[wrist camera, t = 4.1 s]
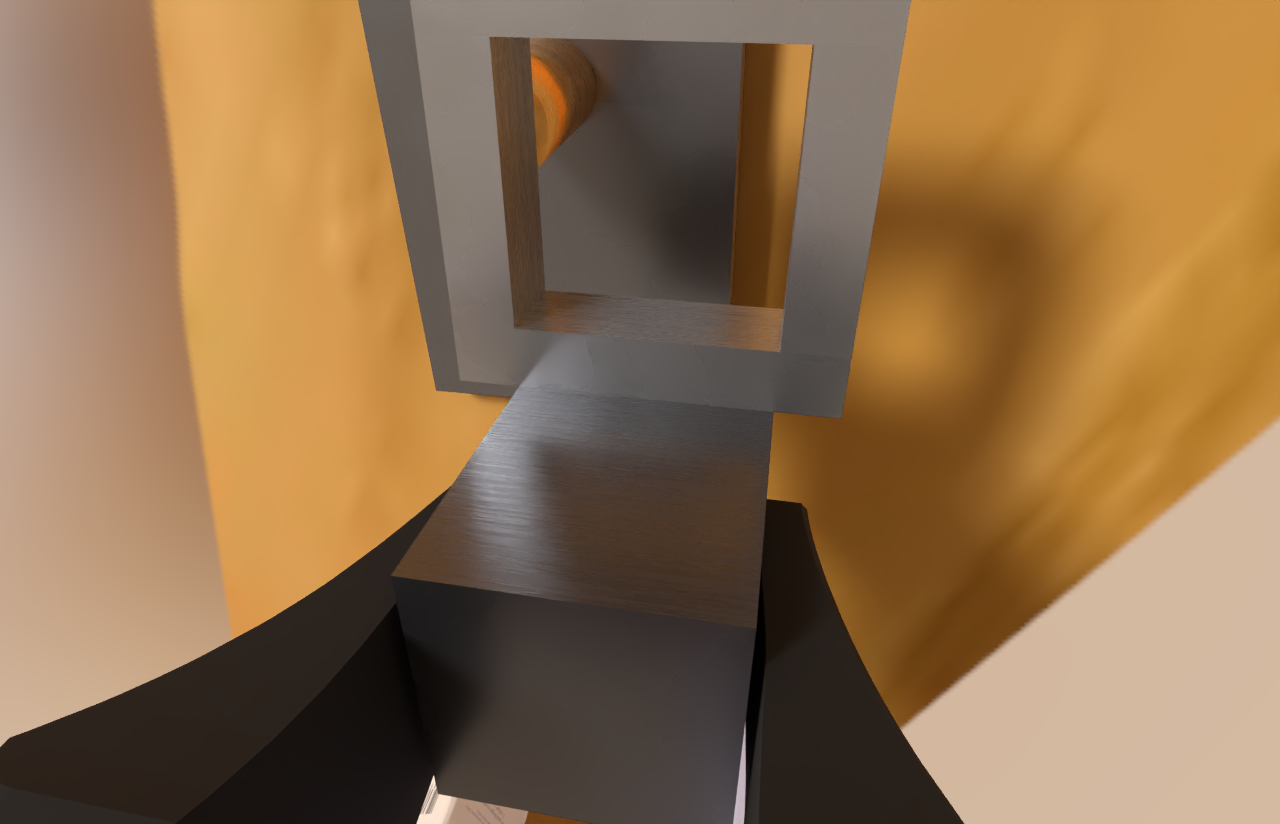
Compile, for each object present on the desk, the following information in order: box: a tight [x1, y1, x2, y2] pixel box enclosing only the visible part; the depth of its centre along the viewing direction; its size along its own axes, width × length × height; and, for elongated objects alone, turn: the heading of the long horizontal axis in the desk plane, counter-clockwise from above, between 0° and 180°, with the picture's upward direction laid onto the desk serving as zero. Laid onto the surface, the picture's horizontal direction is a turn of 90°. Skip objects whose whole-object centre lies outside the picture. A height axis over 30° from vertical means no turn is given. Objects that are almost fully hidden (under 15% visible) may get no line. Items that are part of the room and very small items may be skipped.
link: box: [391, 0, 911, 824], centre depth 10 cm, size 10×6×6 cm, turn 0°
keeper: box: [358, 0, 746, 397], centre depth 16 cm, size 11×8×4 cm
